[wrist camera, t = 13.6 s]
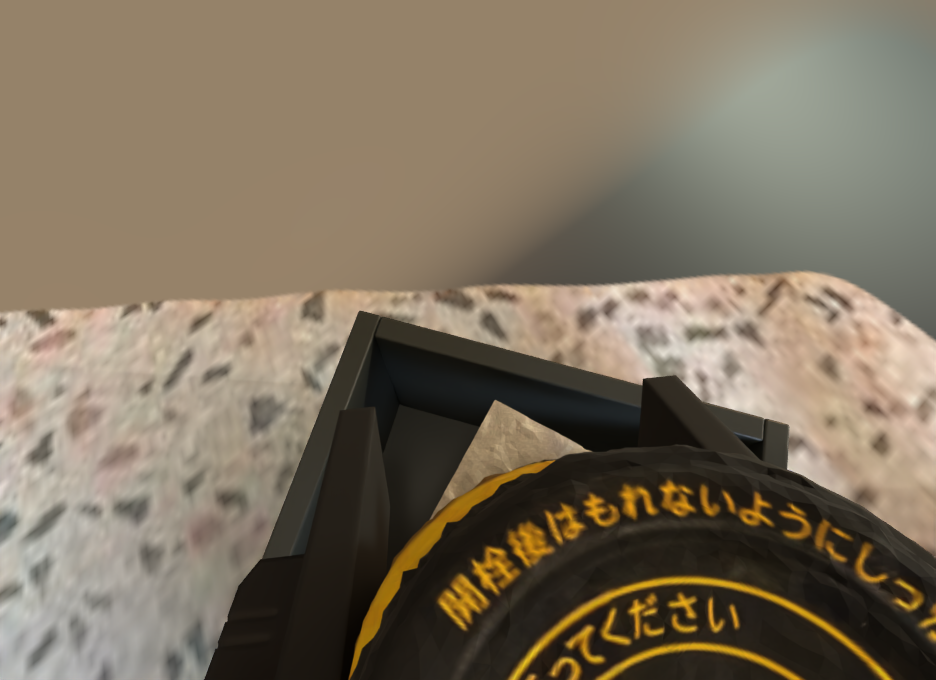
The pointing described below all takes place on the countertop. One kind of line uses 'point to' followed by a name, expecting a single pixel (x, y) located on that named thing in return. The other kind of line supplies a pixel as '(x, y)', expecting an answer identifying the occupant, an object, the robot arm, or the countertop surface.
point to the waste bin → (463, 417)
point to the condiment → (645, 572)
